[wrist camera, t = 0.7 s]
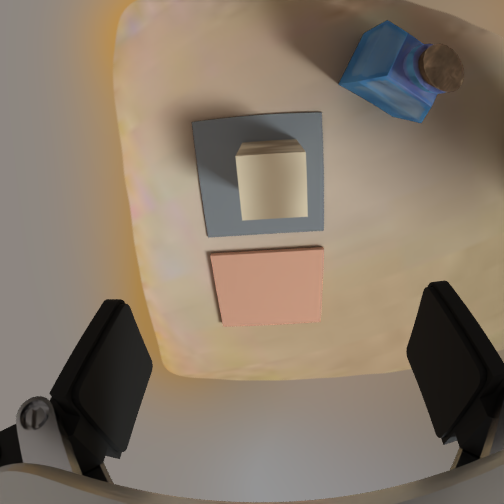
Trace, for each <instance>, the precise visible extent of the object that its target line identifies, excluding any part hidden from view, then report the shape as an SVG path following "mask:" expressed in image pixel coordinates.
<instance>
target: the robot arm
mask: <svg viewBox="0 0 504 504" xmlns="http://www.w3.org/2000/svg"><path fill="white" fill-rule="evenodd" d="M407 358H408V360H409V363H410V365H411V368H412V370H413V373H414V375H415V378H416V380H417V382H418V385H419V388H420V391H421V393H422V396H423V398H424V401H425V404H426V407H427V409H428V412H429V415H430V418H431V421H432V424H433V427H434V429H435V433H436V435H437V436H438V437H439V438H441V439H442V442H443V444H444V445H445V444H447V443H451V442H454V441H458V444H459V449H458V452H457V454H456V457H455V459H454V461H453V464H452V466H451V468H450V471H446V472H444V473H440V474H437V475H434V476H431V477H428V478H425V479H421V480H418V481H414V482H410V483H407V484H403V485H399V486H395V487H391V488H387V489H382V490H377V491H372V492H367V493H362V494H356V495H350V496H343V497H336V498H328V499H319V500H308V501H294V502H269V503H268V502H261V503H258V502H255V503H254V502H253V503H252V502H250V503H249V502H226V501H212V500H201V499H192V498H184V497H176V496H169V495H163V494H158V493H152V492H147V491H142V490H137V489H132V488H128V487H124V486H120V485H116V484H114V483H113V481H112V479H111V478H110V475H109V473H108V471H107V469H106V466H105V464H104V462H103V461H104V458H105V455H106V456H110V457H113V458H118V459H120V456H121V453H122V452H124V451H125V450H126V449H127V446H128V443H129V439H130V437H131V433H132V430H133V427H134V423H135V420H136V417H137V414H138V411H139V408H140V405H141V402H142V399H143V396H144V393H145V390H146V387H147V384H148V381H149V378H150V375H151V372H152V367H153V366H152V360H151V358H150V355H149V353H148V351H147V348H146V346H145V344H144V341H143V339H142V336H141V334H140V332H139V329H138V327H137V324H136V322H135V319H134V316H133V314H132V311H131V309H130V306H129V305H128V304H125V302H124V301H123V300H118V299H116V300H114V299H112V300H111V299H110V300H109V299H107V300H105V301H104V302H103V304H102V305H101V307H100V308H99V310H98V311H97V313H96V315H95V316H94V318H93V319H92V321H91V322H90V324H89V326H88V327H87V329H86V331H85V332H84V334H83V335H82V337H81V339H80V340H79V342H78V344H77V345H76V347H75V349H74V350H73V352H72V354H71V356H70V357H69V359H68V361H67V363H66V364H65V366H64V368H63V370H62V372H61V373H60V375H59V377H58V379H57V380H56V382H55V384H54V386H53V388H52V390H51V391H50V395H51V396H52V398H51V399H50V401H49V400H48V399H47V398H45V397H42V396H36V397H32V398H30V399H28V400H27V401H25V402H24V403H23V404H22V405H21V407H20V408H19V410H18V413H17V416H16V424H15V425H13V426H11V427H8V428H6V429H4V430H3V431H0V504H504V363H503V361H502V359H501V358H500V356H499V354H498V353H497V351H496V350H495V348H494V346H493V345H492V343H491V342H490V340H489V339H488V337H487V336H486V334H485V333H484V331H483V330H482V328H481V327H480V325H479V324H478V322H477V321H476V319H475V318H474V317H473V315H472V314H471V312H470V311H469V309H468V308H467V307H466V305H465V304H464V303H463V301H462V300H461V298H460V297H459V296H458V294H457V293H456V292H455V290H454V289H453V288H452V286H451V285H450V284H449V283H448V282H447V281H438V282H431V283H430V284H429V285H428V287H426V288H425V289H424V291H423V295H422V299H421V302H420V306H419V310H418V313H417V317H416V320H415V324H414V327H413V330H412V333H411V337H410V340H409V343H408V346H407Z"/></svg>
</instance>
